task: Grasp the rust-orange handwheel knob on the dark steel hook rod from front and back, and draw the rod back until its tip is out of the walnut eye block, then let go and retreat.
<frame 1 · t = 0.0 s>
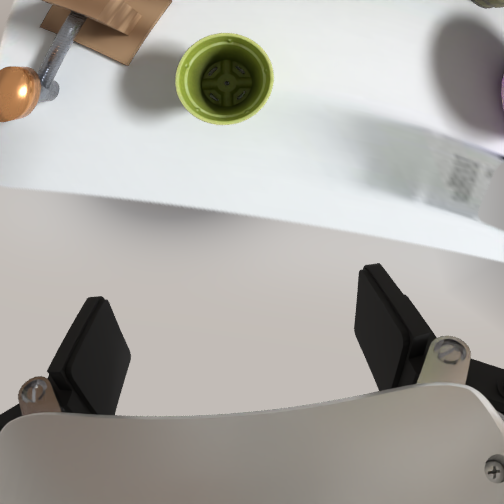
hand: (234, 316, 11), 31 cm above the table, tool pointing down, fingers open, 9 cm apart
plant pot: (226, 82, 35), on the table
hook rod: (54, 41, 24), point 7 cm above the table, slide at 0.0 cm
eye block: (101, 11, 29), on the table
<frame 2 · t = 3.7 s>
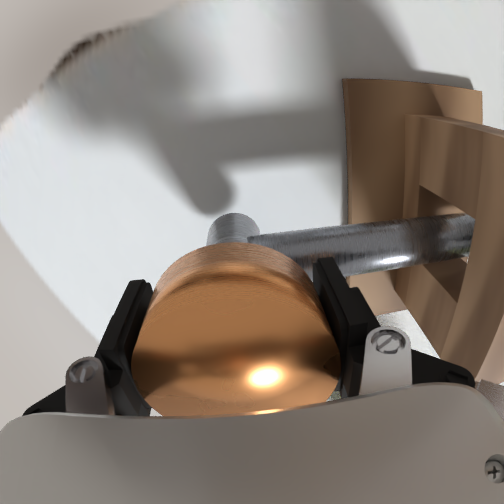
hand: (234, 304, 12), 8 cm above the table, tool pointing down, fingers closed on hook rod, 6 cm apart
hook rod: (386, 268, 13), point 7 cm above the table, slide at 0.0 cm, touching gripper
eye block: (416, 204, 19), on the table
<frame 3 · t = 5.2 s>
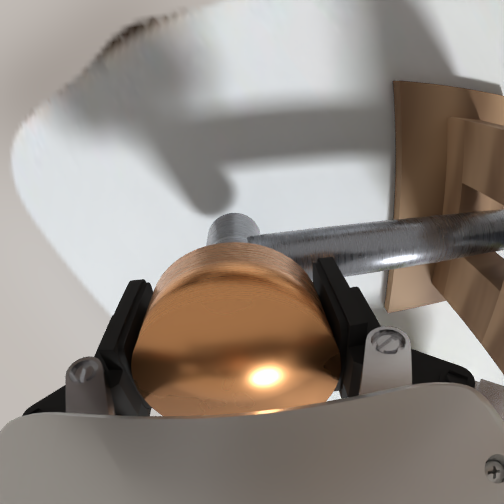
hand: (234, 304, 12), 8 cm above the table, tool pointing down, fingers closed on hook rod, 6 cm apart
hook rod: (386, 268, 13), point 7 cm above the table, slide at 3.3 cm, touching gripper
eye block: (453, 201, 19), on the table
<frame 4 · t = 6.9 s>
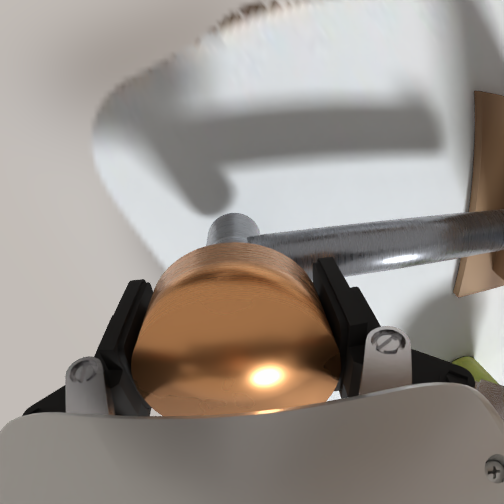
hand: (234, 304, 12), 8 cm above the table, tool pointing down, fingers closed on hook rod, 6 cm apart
plant pot: (451, 373, 29), on the table
hook rod: (386, 268, 13), point 7 cm above the table, slide at 10.0 cm, touching gripper
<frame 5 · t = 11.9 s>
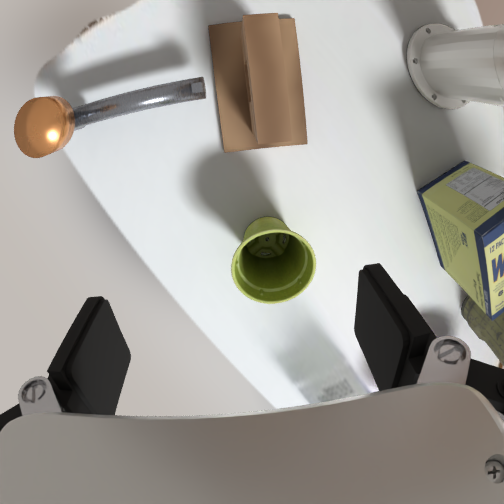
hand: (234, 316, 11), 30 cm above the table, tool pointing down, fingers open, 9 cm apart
plant pot: (266, 236, 44), on the table
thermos: (477, 301, 52), on the table
protein box: (453, 215, 44), on the table
hook rod: (111, 106, 28), point 7 cm above the table, slide at 10.0 cm
eye block: (258, 83, 34), on the table
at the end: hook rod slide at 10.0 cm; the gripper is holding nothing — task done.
